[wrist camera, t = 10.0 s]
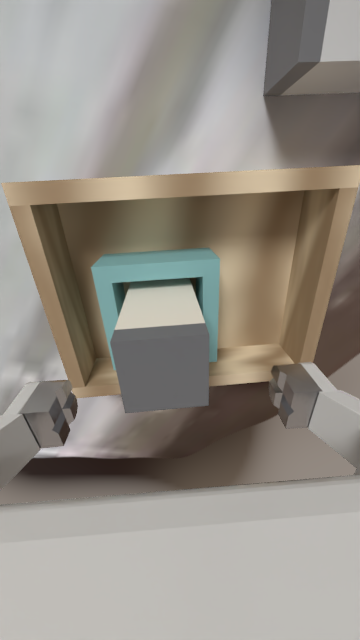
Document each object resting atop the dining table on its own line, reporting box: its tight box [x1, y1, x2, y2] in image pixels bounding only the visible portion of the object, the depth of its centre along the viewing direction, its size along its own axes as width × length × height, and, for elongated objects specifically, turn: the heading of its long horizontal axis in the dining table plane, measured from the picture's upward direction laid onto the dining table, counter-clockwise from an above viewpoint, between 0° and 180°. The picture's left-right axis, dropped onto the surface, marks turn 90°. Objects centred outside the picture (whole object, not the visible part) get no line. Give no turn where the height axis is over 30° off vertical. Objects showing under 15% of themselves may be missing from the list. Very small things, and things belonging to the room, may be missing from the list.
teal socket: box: [91, 248, 220, 370], centre depth 17 cm, size 7×7×4 cm
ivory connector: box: [110, 278, 209, 413], centre depth 15 cm, size 4×4×9 cm
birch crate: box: [1, 165, 360, 398], centre depth 17 cm, size 18×14×4 cm
